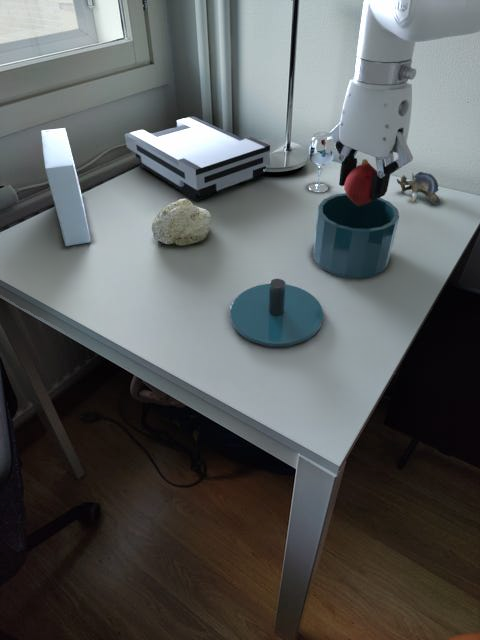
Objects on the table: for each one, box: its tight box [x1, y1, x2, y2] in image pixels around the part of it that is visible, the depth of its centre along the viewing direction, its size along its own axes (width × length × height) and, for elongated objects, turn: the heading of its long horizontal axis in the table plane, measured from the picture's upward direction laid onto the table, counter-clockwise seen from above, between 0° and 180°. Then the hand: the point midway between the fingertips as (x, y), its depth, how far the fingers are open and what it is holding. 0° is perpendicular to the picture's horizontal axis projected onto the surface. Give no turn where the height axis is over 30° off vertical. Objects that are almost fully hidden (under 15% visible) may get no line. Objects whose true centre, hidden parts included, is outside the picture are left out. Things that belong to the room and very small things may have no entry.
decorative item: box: [151, 197, 212, 246], centre depth 90 cm, size 12×9×10 cm
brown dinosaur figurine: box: [396, 169, 441, 206], centre depth 101 cm, size 8×7×9 cm
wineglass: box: [308, 131, 336, 193], centre depth 104 cm, size 6×6×12 cm
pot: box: [313, 192, 400, 279], centre depth 83 cm, size 14×14×10 cm
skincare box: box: [40, 127, 92, 247], centre depth 93 cm, size 21×5×16 cm, turn 20°
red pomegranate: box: [343, 158, 378, 206], centre depth 76 cm, size 6×6×8 cm
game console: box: [124, 116, 271, 202], centre depth 114 cm, size 21×32×8 cm, turn 38°
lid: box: [229, 278, 324, 347], centre depth 71 cm, size 15×15×7 cm
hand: (361, 189), depth 77 cm, fingers closed on red pomegranate, 6 cm apart
